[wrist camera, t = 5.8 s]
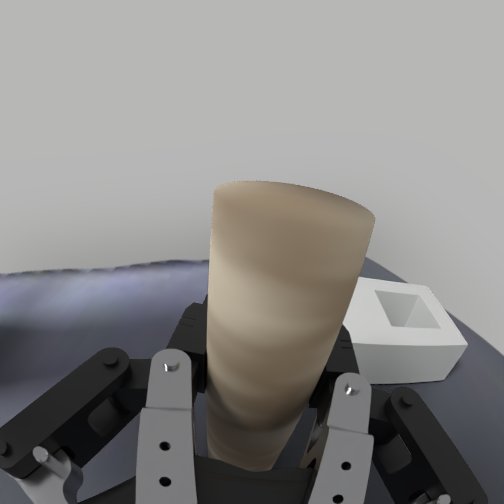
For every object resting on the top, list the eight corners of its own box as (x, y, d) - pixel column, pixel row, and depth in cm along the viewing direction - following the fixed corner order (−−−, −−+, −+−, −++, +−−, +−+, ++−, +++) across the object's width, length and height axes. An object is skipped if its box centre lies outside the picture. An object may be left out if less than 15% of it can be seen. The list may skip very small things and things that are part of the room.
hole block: (253, 375, 19) (261, 333, 17) (262, 302, 28) (268, 264, 26) (443, 380, 18) (468, 344, 17) (412, 318, 27) (426, 286, 26)
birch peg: (202, 477, 11) (191, 208, 5) (214, 425, 15) (230, 175, 8) (271, 486, 11) (400, 241, 5) (275, 433, 15) (352, 195, 8)
